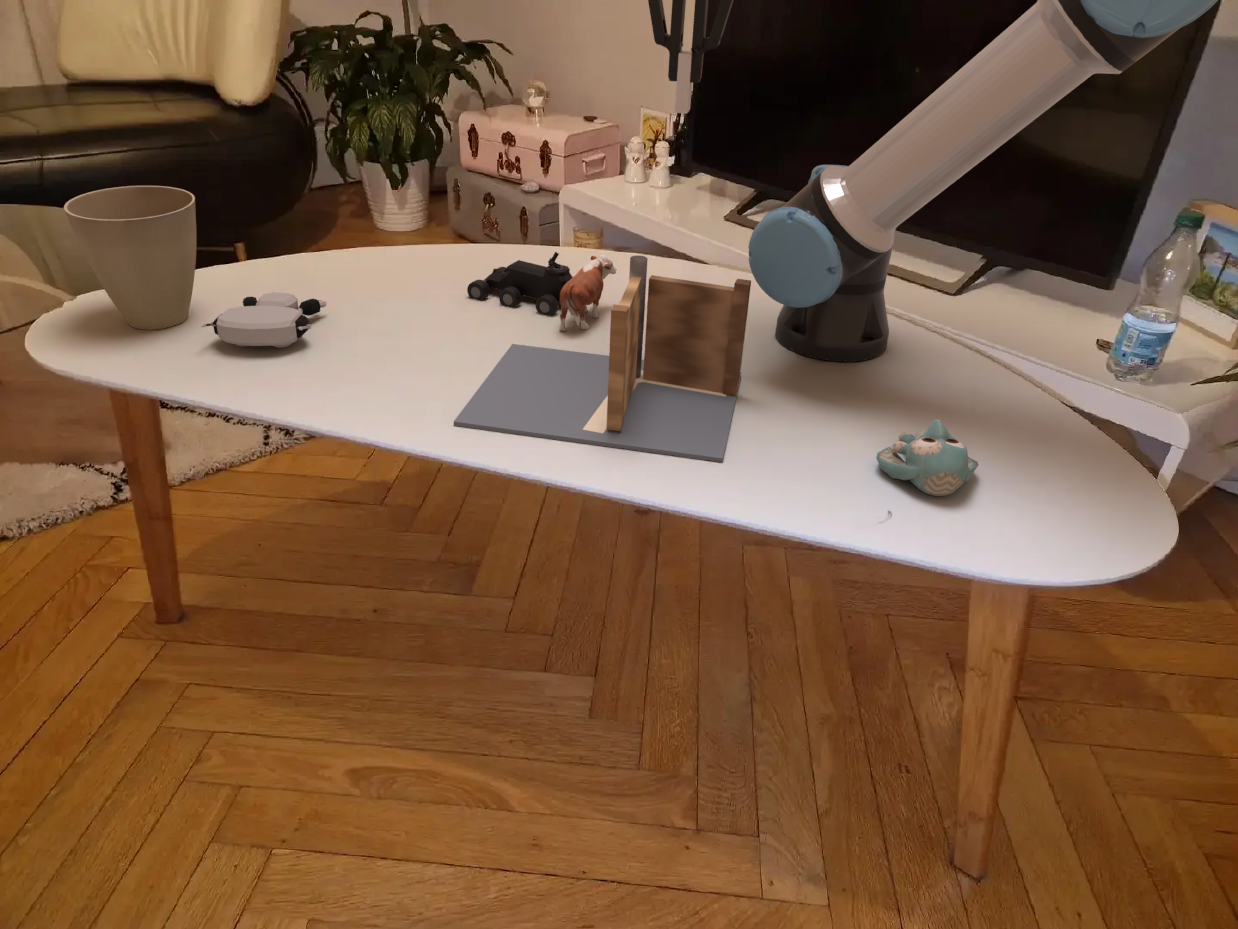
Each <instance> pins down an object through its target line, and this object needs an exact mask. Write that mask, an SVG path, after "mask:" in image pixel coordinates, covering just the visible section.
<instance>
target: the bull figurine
mask: <svg viewBox="0 0 1238 929" xmlns="http://www.w3.org/2000/svg"><path fill="white" fill-rule="evenodd" d="M616 273H617V267H615V266H614V264H613V260H611V258H609V257H608V256H607V255H605V254H600V255H599V256H598V257H597V256H595V255H591V256H590V261H588V263H586V265H585V266H584V267H581V268H580V270H579V271H578V272H577V273H576V274H575V275H574V276H572V277H573V278H572V279H571V280H569V281H568V282H567V283H566V284H565V285H564V286H563V288H562V289H561V292H560V303H561V304H560V307H561V308H560V309H561V313H560V314H559V318H560V325H559V331H561V332H567V330H568V329H567V326H566V319H567V314H568V312H569V314H570V315H571V316H573V318H574V321H575V324H576V325H577V326H578V327H580V329H582V330H583V329H584V330H585V331H587V330H589V329H590V327H589V325H588V324H587V322H586V320H585V313H588V312H589V309H588V306H589V305H592V310H591V313H590V316H591V317H592V318H594V319H599V318H600V316H599V313H598V306H599V305H600V304H599V301H600V299H601V297H602V295H603V294H602V293H603V291H604V285H605V284H604V280H605V279H606V277H608V275H616Z"/></svg>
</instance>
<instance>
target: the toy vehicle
mask: <svg viewBox="0 0 1238 929" xmlns="http://www.w3.org/2000/svg"><path fill="white" fill-rule="evenodd" d="M558 256H560V253H558V252H557V251H555V252H554V253H553V255H552V257H550V258H549V260H548V262H547V263H548V264H547V266H544V265H540V264H538V263H537V264H535V263H531V262H527V261H524V260H520V259H518V260H517V261H514V262H512V263H510V264H509V265H507V266H506V267H505V266H499V267H497V268H493V270H492V272H491V273H490V274H489V275H488V276H487V277H485V278H484V279H483V280H482V279H476V280H473V281H472V282H470V283H469V284H468V286H467V289H466V290H467V295H468V297H469V298H470V299H471V300H475V301H480V302H482V301H484V300H486V299H487V298H488V297H490V292H491V291H490V290H491V289H495V290H499V291H500V293H499V296H498V299H499V302H500V305H501V306H504V307H506V308H512V309H515V308H517V307H518V306H520V304H521V303H522V300H523V297H527V298H531V299H534V300H536V301H535V309H536V311H537V313H538V314H539V315H543V316H546V317H551V316H554V314H556V313H558V312H557V311H558V310H559V307H560V306H561V303H560V292H561V289H562V288H563V286H564V285H565V284H566V283H567V282H568V281H569V280H571V279H572V278H573V277H574V276H573V275H572V274H571V273H570V271H571V270H570V267H569V266H567V265H565V264H560V263H557V262H556V260H557V259H558Z"/></svg>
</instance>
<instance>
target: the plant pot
mask: <svg viewBox="0 0 1238 929" xmlns="http://www.w3.org/2000/svg"><path fill="white" fill-rule="evenodd" d="M63 210H64V213H65V215H66V217H67V220H68V222H69V224H70V226H71V228H72V230H73V233H74V235H75V238H76V240H77V242H78V244H79V247H80V249H81V250H82V252H83V254H84V256H85V259H86V260H87V262H88V264H89V265H90V267H91V269H92V271H93V273H94V275H95V276H96V278H97V280H98V282H99V283H100V285H101V286H102V288H103V289H104V291H105V292H106V294H107V296H108V298H109V299H110V300H111V301H112V303H113V304H114V306H115V308H116V309H117V310H118V311H119V313H120V314H121V316H122V317H123V318H124V320H125V321H126V322H127V323H128V325H129V326H131V327H132V328H134V327H135V329H139V330H145V329H146V330H147V331H149V330H150V331H151V330H161V329H168V328H171V327H174V325H175V326H177V325H179V324H182V323H183V322H185V321H186V320H187V319H188V316H189V312H190V308H191V307H190V306H191V302H192V295H193V290H194V284H195V283H194V281H195V274H196V265H197V264H196V262H197V218H196V217H197V216H196V214H197V212H196V197H195V195H194V194H193V193H191V192H190V191H188V190H185V189H183V188H177V187H172V186H163V185H127V186H118V187H116V186H115V187H111V188H110V187H109V188H103V189H98V190H94V191H93V190H92V191H90V192H86V193H82V194H80V195H77V196H75V197H73V198H70V199H69V200H68V201H66V202H65V204H64V205H63ZM167 327H168V328H167Z"/></svg>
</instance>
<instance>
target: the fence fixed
mask: <svg viewBox="0 0 1238 929" xmlns="http://www.w3.org/2000/svg"><path fill="white" fill-rule="evenodd" d="M629 258H630V259H629V278H628V281H629V280H630V278H631V276H633V277H641V296H640V314H639V332H638V350H637V368H636V379H637V378H640V377H641V363H642V360H644V370H643V379H644V380H649V381H655V382H660V383H666V384H672V385H678V386H683V387H689V388H695V389H700V390H706V391H712V392H718V393H722V394H725V395H727V396H733V397H736V398H737V396H738V393H739V389H740V388H739V386H740V382H739V380H740V381H741V377H740V372H742V371H741V370H742V360H743V353H744V345H745V336H746V328H747V322H748V321H747V319H748V312H749V301H750V294H751V286H752V280H749V279H745V278H744V279H742V278H737V279H736V280H735V282H734V286H728V285H721V284H715V283H708V282H700V281H694V280H686V279H680V278H675V277H667V276H660V275H653V274H652V275H650V277H649V278H648V287H647V274H648V273H647V272H648V257H646V256H645V255H632V256H630V257H629ZM647 288H648V289H647ZM646 290H647V293H646ZM646 295H647V307H646ZM646 309H647V310H646ZM645 310H646V311H645ZM645 312H646V320H645ZM645 323H646V324H645ZM644 324H645V325H644ZM644 328H645V337H644ZM643 341H644V342H643ZM643 343H644V346H643ZM643 347H644V356H643ZM643 357H644V359H643ZM736 395H737V396H736Z"/></svg>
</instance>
